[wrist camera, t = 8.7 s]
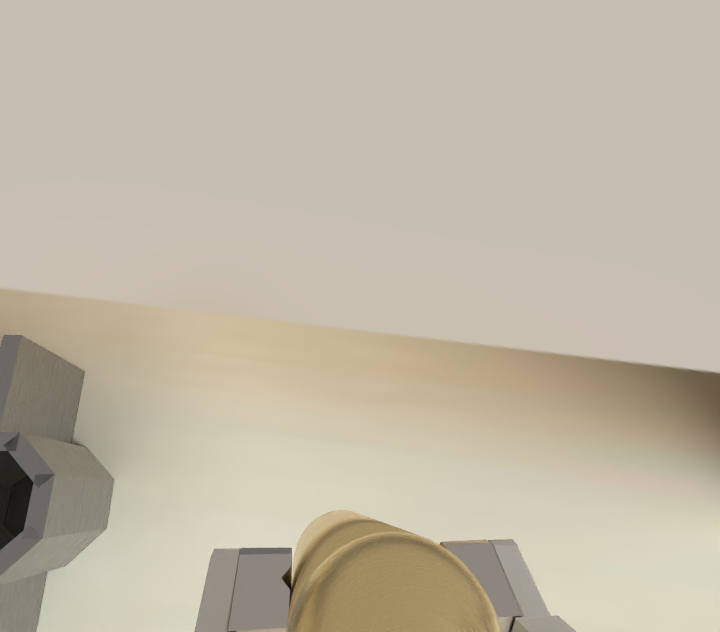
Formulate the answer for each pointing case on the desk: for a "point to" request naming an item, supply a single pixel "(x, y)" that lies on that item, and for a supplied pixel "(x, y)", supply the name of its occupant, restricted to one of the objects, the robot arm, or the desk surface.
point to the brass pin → (381, 581)
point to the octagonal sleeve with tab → (43, 476)
